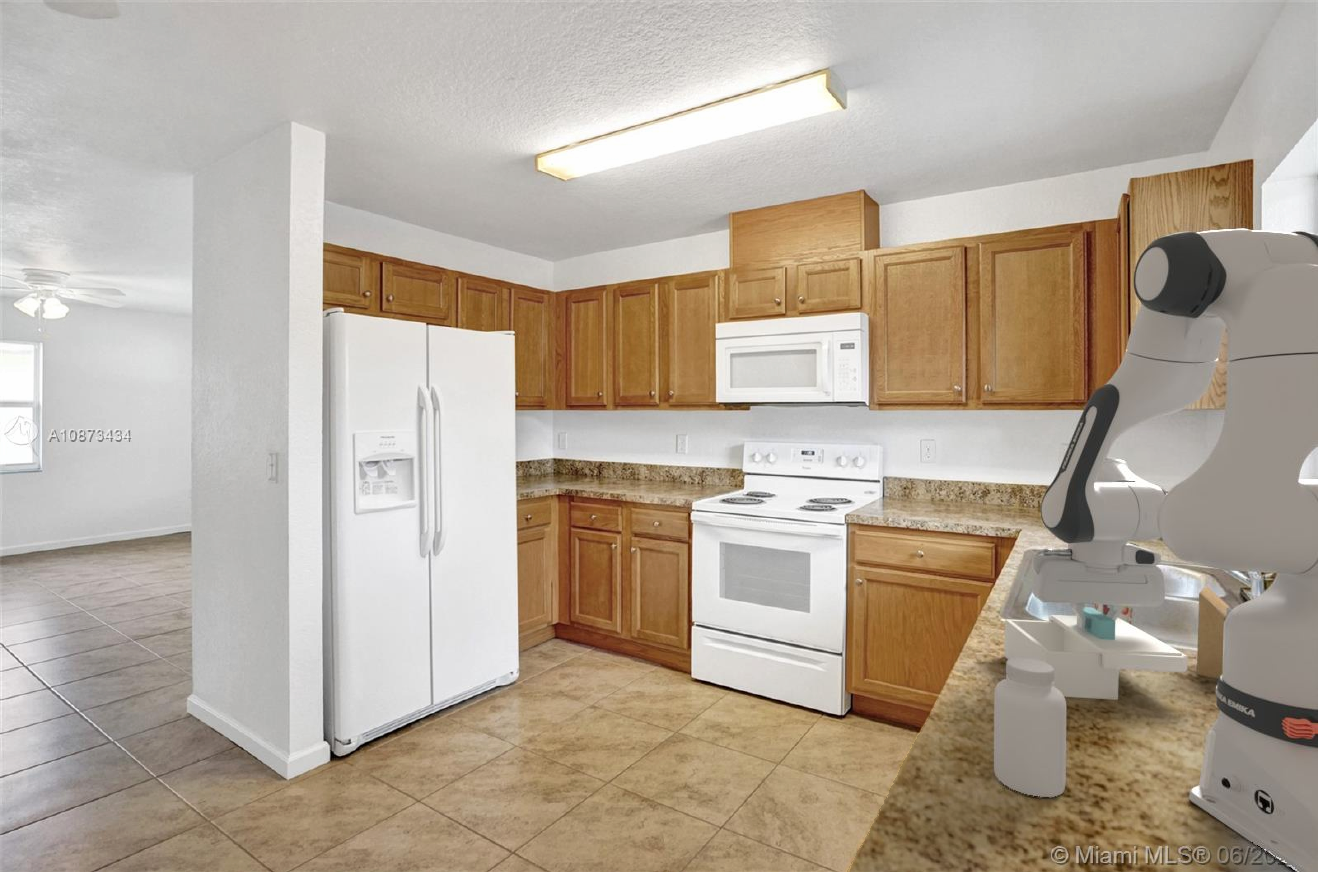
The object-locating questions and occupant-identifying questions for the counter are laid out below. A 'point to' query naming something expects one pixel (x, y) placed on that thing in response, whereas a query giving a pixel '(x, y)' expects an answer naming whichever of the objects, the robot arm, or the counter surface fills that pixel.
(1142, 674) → the counter surface
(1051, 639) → the box
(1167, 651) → the lid
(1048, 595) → the robot arm
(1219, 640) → the sandwich container
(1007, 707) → the pill bottle
